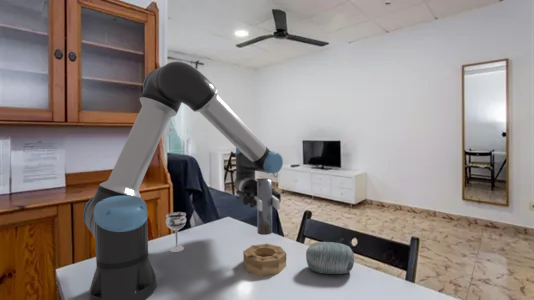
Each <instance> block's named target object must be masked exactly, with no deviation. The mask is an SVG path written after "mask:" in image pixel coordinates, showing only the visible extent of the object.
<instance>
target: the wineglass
mask: <svg viewBox="0 0 534 300" xmlns="http://www.w3.org/2000/svg"><path fill="white" fill-rule="evenodd" d="M186 216H187V213H186V212H182V211H177V212H169V213H167V214H166V215H165V218H166V219H165V225H166V227H167V228H169V229H170V230H172V231H174V234H175V236H174V237H175V246H171V247H170V248H169V249H168V251H170V252H171V253H176V252H177V253H178V252H182V251H183V250H184V249H185V246H183V245H182V246H181V245H178V232H179V231H180V229H182V228H184V226H185V225H186V223H187V217H186Z"/></svg>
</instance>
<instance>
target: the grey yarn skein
mask: <svg viewBox="0 0 534 300" xmlns="http://www.w3.org/2000/svg"><path fill="white" fill-rule="evenodd" d="M305 257H306V258H305V260H306V263H307V267H308V268H309V270H312V271H314V272H316V273H320V274H325V275H326V274H329V275H345V274H347V273H350V272H351V271H352V270H353V267H354V265H355V255H354V251H353V250H352V248H351V247H350V246H349V245H346V244H344V243H340V242H332V241H320V242H319V241H318V242H315V243H312V244H310V245H309V246H308V248H307V249H306V252H305Z"/></svg>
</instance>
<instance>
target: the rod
mask: <svg viewBox="0 0 534 300" xmlns="http://www.w3.org/2000/svg"><path fill="white" fill-rule="evenodd" d="M256 180H257V197H258V198H259V199H260V200H261V201H262V211H259V210H258V209H257V208H256V210H257V211H256V212H257V214H256V215H257V223H256V225H257V229H256V230H257V234H259V235H263V236H266V235H271V234H272V233H273V206H272V188H273V179H272V178H263V177H262V178H258V179H257V178H256Z"/></svg>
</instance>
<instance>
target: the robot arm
mask: <svg viewBox="0 0 534 300" xmlns="http://www.w3.org/2000/svg"><path fill="white" fill-rule="evenodd" d="M142 90H143V91H142V93H141V95H140V97H139V102H140V103H141V107H140V110H139V112H138V115H137V117H136V118H135V121H134V123H133V126H132V127H131V129H130V132H129V134H128V137H127V139H126V141H125V143H124V145H123V146H122V149H121V151H120V152H119V153H120V154H119V155H118V158H117V160H116V162H115V165H114V167H113V169H112V171H111V173H110V175H109V177H108V179H107V180H106V181H103V182H101V183H99V186H98V187H97V189H96V191H95V193H94V196H92V197H91V198H90V199H89V200H88V201H87V202H86V204H85V206H84V210H83V222H84V224H85V226H86V228H87V229H88V230H89V231H90V233H91V234H92V236H93V237H94V239H95V240H94V241H95V257H96V258H95V260H96V262H95V263H96V267H95V271H94V274H93V277H92V280H91V283H90V286H89V291H88V297H89V298H88V300H146V299H147V298H149V297H150V296H151V295H152V294H153V293H154V292H155V290H156V288H157V276H156V273H155V270H154V268H153V266H152V262H151V260H150V258H149V236H148V235H149V233H148V230H149V229H148V226H149V225H148V219H149V217H148V216H149V211H148V207H147V203H146V201H145V200H144V199H143V198H142V195H141V193H140V191H139V189H140V188H141V185H142V182H143V180H144V178H145V175H146V173H147V171H148V168H149V166H150V164H151V162H152V159H153V156H154V155H155V152H156V150H157V148H158V145H159V143H160V140H161V138H162V136H163V135H164V134H163V133H164V131H165V129H166V127H167V126H168V125H167V124H168V122H169V120H170V118H173V117H175V116H177V114H178V112H179V110H180V108H181V105H182V104H184V105H186V106H188V108H190V109H191V110H192V111H193V112H194V113H195V112H198V113H200V114H201V115H202V116H203V117H204V118H205V119H206V120H207V121H208V122H209V123H210V124H211V125H213V127H214V128H215V129H216V130H217V131H219V132H220V134H221V135H223V136H224V137H225V138H226V139H227V140H228V141H229V142H230V143H231V144H232V145H233V146H234V147H235V155H234V156H235V178H234V188H235V189H236V191H235V196H236V197H235V198H236V199H237V200H239V201H240V202H241V203H242V204H243V205H245V206H247V205H249V208H256V210H257V209H258V210H259V211H262V201H261V200H260V199H259V198H258V197H257V179H256V172H261V173H266V174H277V173H279V172H280V171H281V169H282V167H283V165H284V164H283V163H284V159H283V157H282V155H281V154H280V152H278V151H277V152H276V151H274V150H273V151H271V150H270V149H269V148H268V147H267V146H266V145H265V144H264V142H263V141H261V139H259V137H258V136H257V135H256V134H255V133H254V132H253V131H252V130H251V129H250V128H249V126H247V125H246V123H245V122H244V121H243V120H242V119H241V118H240V117H239V116H238V114H237V113H235V111H234V110H232V108H231V107H230V106H229V105H228V104H227V103H226V102H225V101H224V100H223V99H222V98H221V97H220V96H219V94H218V88H216V86H215V85H214V84H213V83H212V82H211V81H210V80H209V79H208V78H207V77H206V76H205V75H204V74H203V73H202V72H201V71H199V70H198V69H197V68H196V67H194V66H192V64H188V63H186V62H182V61H172V62H171V61H170V62H168V63H166V64H164V65H163V66H161V67H158V68H155V69H153V70H151V71H150V72H149V73H148V74H147V75H146V77H145V79H144V80H143V84H142ZM281 202H282V201H281V193H279V192H278V191H276V189H275V188H273V187H272V208H274V209H275V210H279V211H280V209H281V207H280V203H281Z"/></svg>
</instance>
